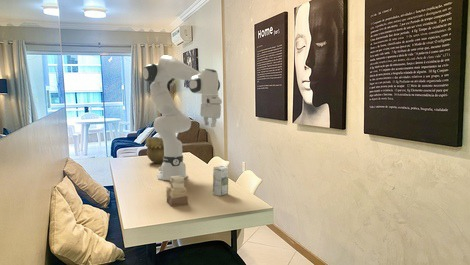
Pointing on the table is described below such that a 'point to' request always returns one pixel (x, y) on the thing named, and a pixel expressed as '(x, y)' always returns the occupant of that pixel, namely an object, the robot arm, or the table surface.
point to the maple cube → (177, 182)
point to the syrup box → (220, 180)
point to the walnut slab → (177, 201)
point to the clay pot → (155, 149)
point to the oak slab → (176, 192)
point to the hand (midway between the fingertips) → (209, 126)
